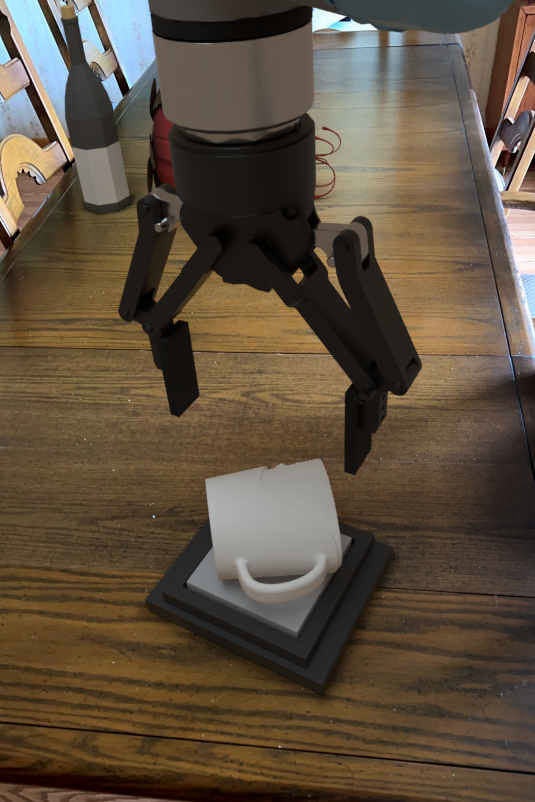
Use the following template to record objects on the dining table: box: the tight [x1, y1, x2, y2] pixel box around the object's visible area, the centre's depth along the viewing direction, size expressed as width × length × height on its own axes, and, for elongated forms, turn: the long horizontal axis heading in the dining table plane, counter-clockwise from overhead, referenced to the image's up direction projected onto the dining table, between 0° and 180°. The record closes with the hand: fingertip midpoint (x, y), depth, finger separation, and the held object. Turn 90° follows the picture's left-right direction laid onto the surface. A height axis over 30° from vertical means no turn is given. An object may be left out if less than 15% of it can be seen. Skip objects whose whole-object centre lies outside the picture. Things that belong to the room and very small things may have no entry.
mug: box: [204, 458, 342, 604], centre depth 56 cm, size 12×9×8 cm
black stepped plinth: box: [144, 517, 394, 696], centre depth 60 cm, size 16×14×3 cm
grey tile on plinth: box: [187, 533, 352, 640], centre depth 59 cm, size 10×10×2 cm
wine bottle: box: [59, 3, 131, 215], centre depth 112 cm, size 8×8×30 cm
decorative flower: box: [146, 77, 342, 200], centre depth 115 cm, size 22×23×30 cm
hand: (266, 431), depth 49 cm, fingers open, 13 cm apart
